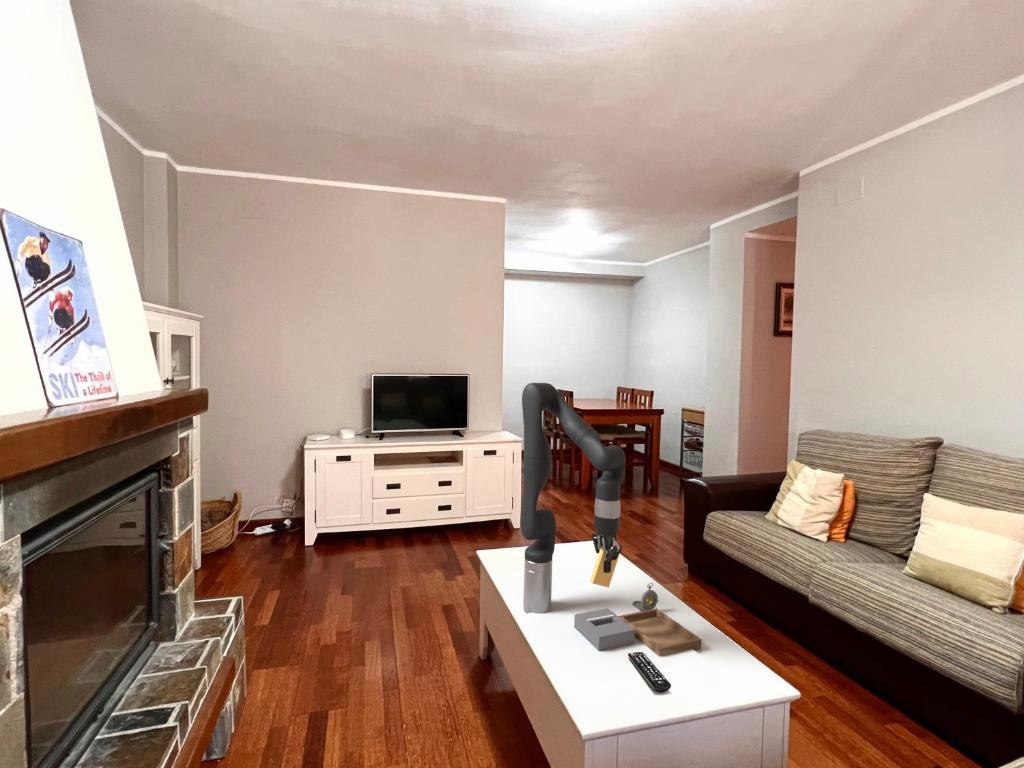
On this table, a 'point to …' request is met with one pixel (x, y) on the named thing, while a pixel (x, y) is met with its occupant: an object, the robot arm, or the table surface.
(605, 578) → the yellow rectangular block
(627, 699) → the table surface
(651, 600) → the pocket watch
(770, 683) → the table surface
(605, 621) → the dispenser
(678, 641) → the tray
